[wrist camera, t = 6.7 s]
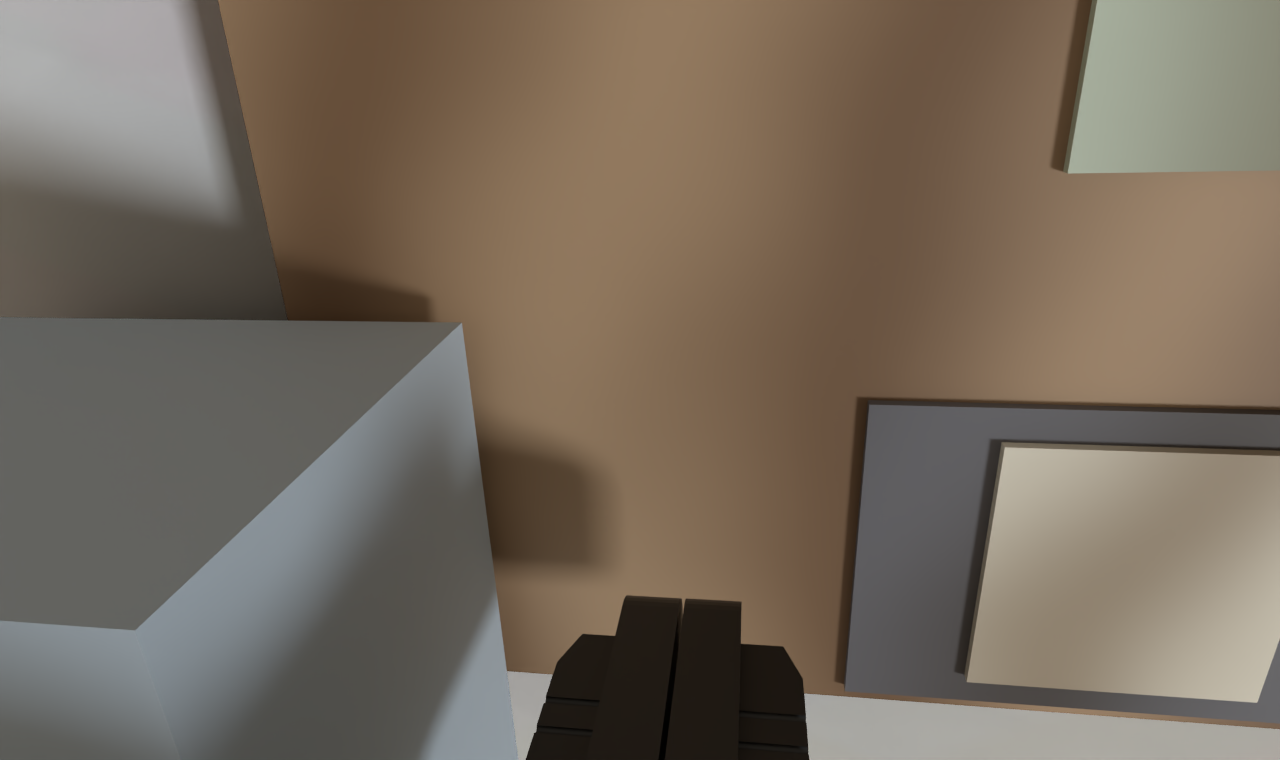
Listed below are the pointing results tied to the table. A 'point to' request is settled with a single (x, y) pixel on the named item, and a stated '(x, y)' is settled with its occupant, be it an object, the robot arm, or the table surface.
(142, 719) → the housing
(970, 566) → the board
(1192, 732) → the table surface
